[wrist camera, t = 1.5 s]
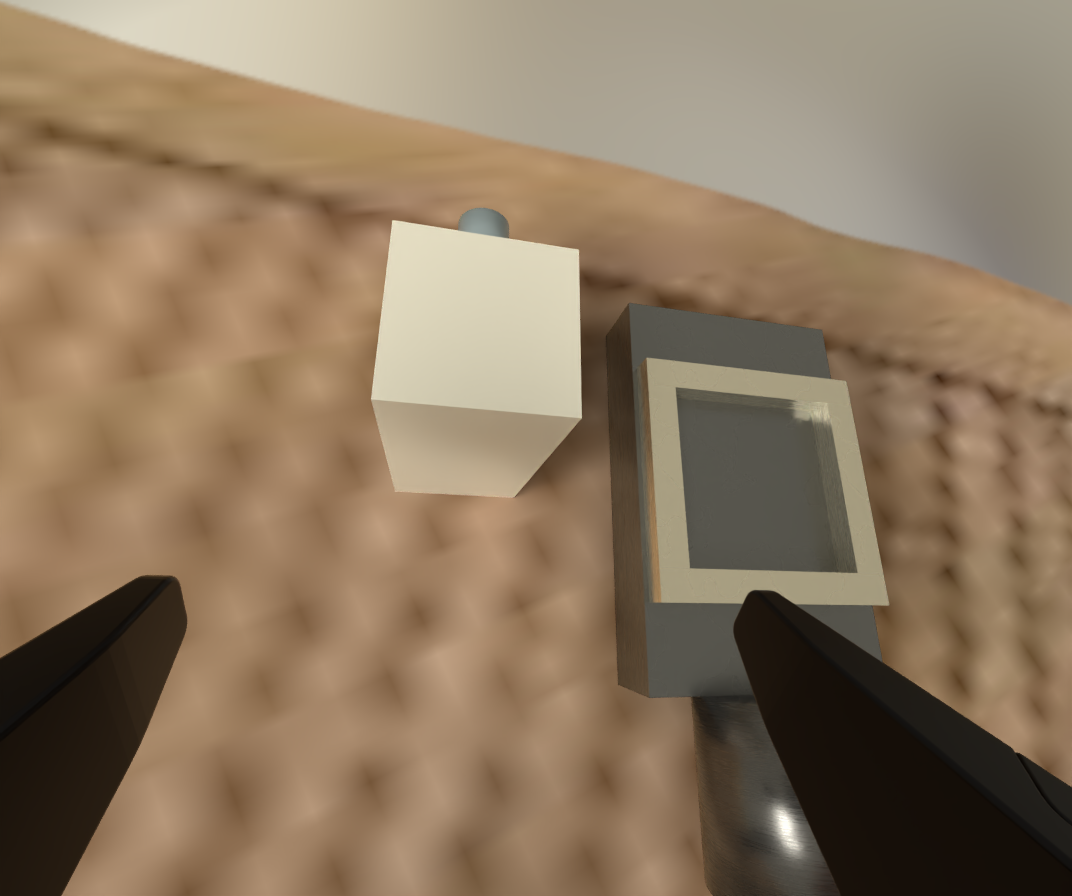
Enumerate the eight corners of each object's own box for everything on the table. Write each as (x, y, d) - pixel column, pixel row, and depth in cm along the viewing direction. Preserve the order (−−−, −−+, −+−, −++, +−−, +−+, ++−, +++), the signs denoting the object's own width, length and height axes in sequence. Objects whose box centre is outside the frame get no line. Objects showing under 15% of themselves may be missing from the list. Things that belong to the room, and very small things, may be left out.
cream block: (513, 497, 22) (581, 418, 12) (395, 491, 21) (371, 399, 11) (517, 353, 24) (577, 192, 14) (410, 341, 23) (399, 159, 13)
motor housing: (853, 839, 20) (1015, 928, 15) (624, 861, 18) (712, 975, 13) (780, 358, 27) (874, 294, 21) (606, 336, 25) (658, 259, 19)
